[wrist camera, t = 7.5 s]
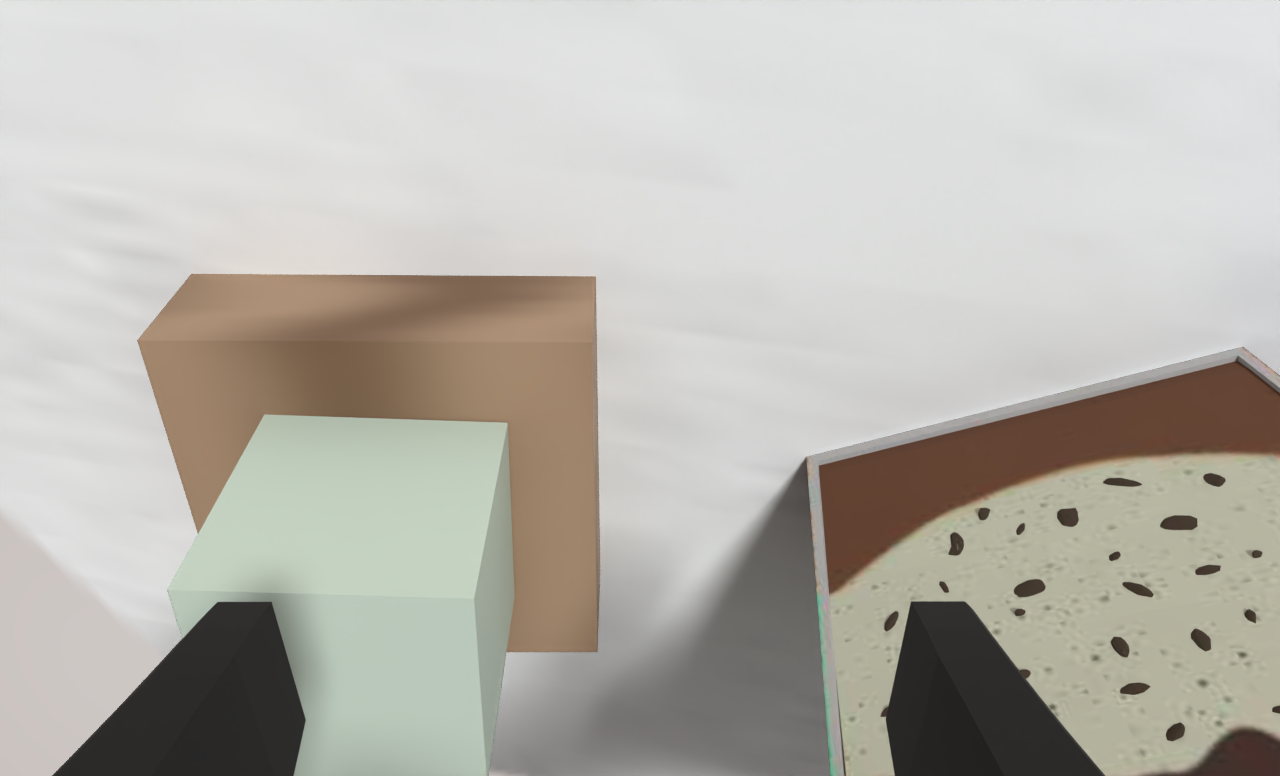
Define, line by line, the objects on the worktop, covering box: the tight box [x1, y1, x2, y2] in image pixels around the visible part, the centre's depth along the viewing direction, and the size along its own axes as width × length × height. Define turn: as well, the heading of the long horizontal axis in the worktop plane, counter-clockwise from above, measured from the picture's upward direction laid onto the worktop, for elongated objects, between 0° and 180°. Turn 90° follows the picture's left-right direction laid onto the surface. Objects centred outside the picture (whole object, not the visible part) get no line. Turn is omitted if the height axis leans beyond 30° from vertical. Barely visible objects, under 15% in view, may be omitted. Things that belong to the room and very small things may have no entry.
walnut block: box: [137, 274, 600, 652], centre depth 21 cm, size 8×8×3 cm
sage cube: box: [167, 415, 515, 776], centre depth 18 cm, size 4×4×4 cm
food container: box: [806, 347, 1280, 776], centre depth 19 cm, size 12×6×10 cm, turn 108°
